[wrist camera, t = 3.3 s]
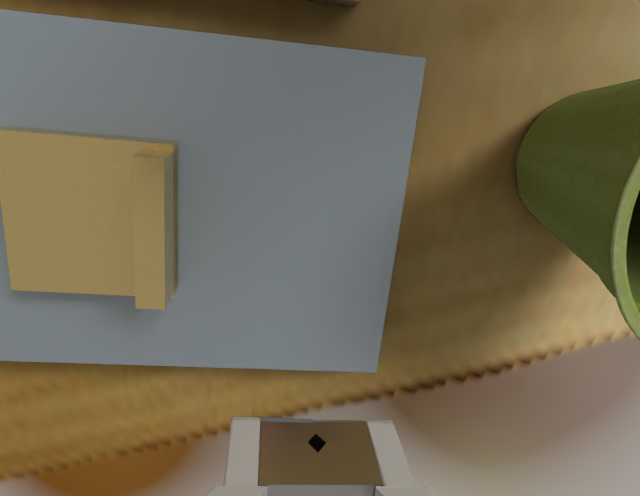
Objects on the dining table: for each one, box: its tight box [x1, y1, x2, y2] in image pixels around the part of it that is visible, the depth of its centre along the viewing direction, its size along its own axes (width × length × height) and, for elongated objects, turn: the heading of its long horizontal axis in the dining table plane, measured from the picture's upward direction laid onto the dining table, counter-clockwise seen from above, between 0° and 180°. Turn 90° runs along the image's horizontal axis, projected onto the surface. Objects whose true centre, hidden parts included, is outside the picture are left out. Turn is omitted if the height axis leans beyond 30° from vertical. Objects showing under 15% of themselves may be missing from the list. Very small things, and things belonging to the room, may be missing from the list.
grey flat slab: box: [0, 9, 427, 373], centre depth 23 cm, size 22×16×2 cm
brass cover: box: [0, 126, 178, 310], centre depth 20 cm, size 7×7×3 cm
